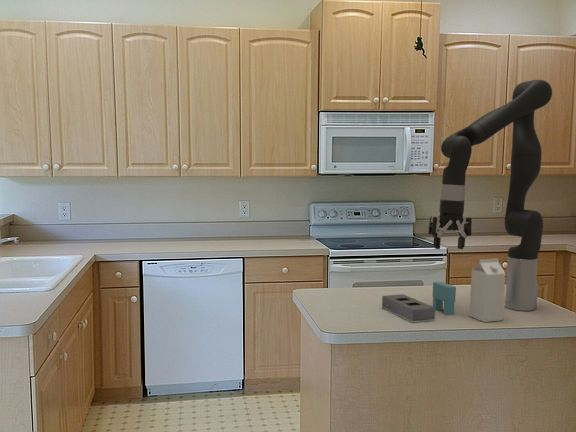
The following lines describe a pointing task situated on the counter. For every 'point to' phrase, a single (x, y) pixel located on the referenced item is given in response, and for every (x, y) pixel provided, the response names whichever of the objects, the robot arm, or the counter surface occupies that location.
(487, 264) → the milk carton
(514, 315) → the counter surface
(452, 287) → the teal elongated block
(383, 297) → the grey socket block
